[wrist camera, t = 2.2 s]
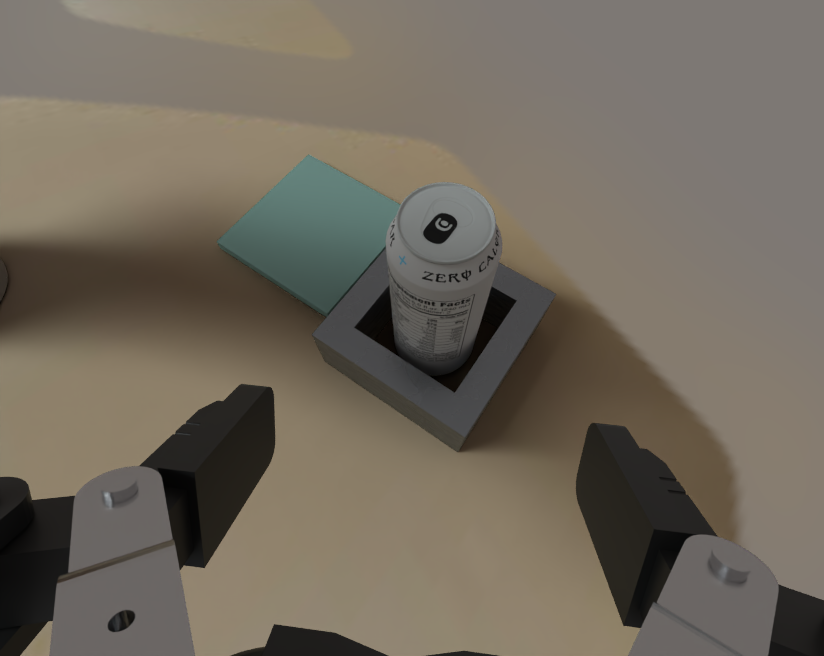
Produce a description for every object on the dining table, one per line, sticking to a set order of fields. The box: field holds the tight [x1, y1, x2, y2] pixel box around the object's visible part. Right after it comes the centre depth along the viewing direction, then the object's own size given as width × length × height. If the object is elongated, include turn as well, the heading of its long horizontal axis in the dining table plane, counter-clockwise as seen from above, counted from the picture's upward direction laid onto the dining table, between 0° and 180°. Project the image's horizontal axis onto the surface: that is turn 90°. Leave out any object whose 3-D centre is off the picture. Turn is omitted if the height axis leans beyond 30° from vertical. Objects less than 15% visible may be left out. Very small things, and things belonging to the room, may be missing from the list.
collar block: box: [312, 249, 556, 452], centre depth 33 cm, size 12×12×5 cm
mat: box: [217, 154, 400, 317], centre depth 40 cm, size 12×12×1 cm
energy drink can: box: [386, 182, 502, 376], centre depth 29 cm, size 6×6×15 cm
